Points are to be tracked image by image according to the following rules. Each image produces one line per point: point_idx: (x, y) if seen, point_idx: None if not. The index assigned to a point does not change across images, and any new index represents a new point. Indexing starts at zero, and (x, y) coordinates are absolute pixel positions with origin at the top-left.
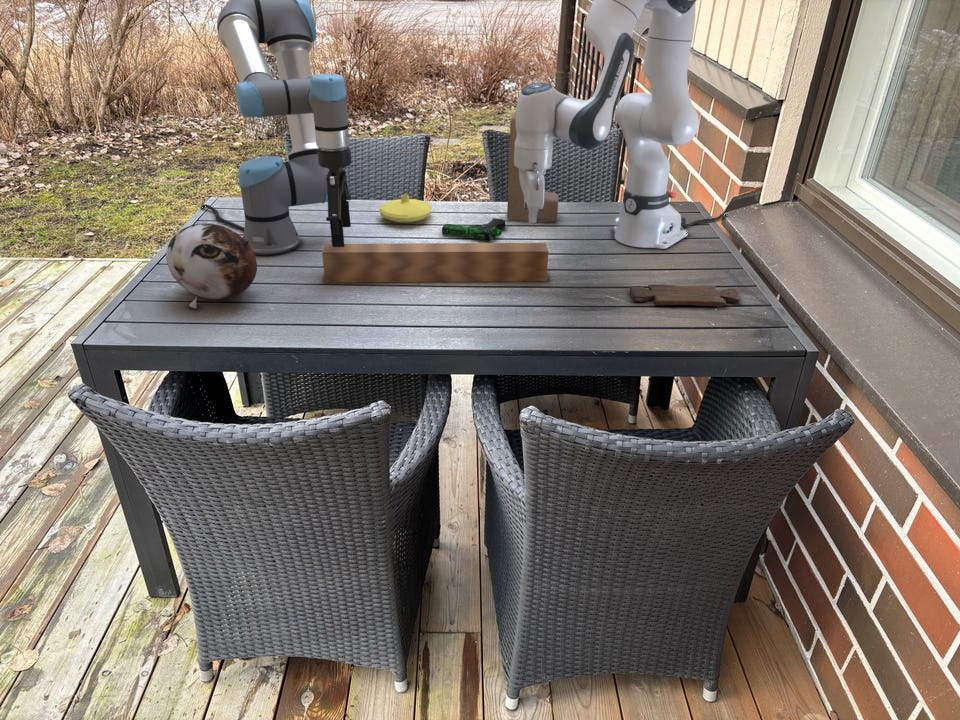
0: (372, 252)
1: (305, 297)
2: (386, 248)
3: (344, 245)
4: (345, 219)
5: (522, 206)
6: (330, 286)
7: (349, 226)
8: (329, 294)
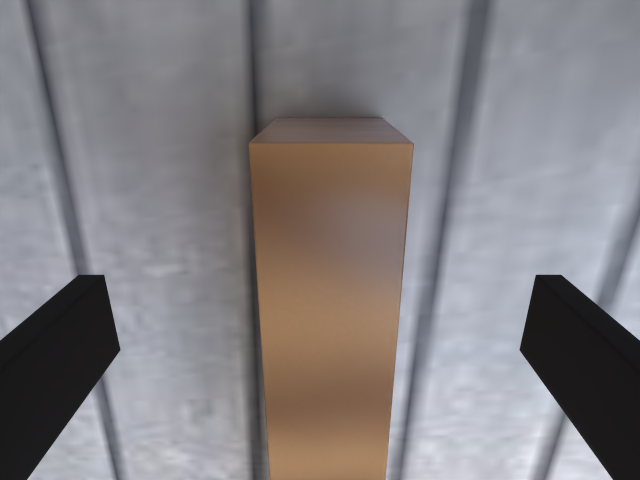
0: (266, 415)
1: (103, 42)
2: (317, 468)
3: (372, 272)
4: (558, 365)
5: None
6: (235, 147)
7: (523, 348)
8: (152, 154)
